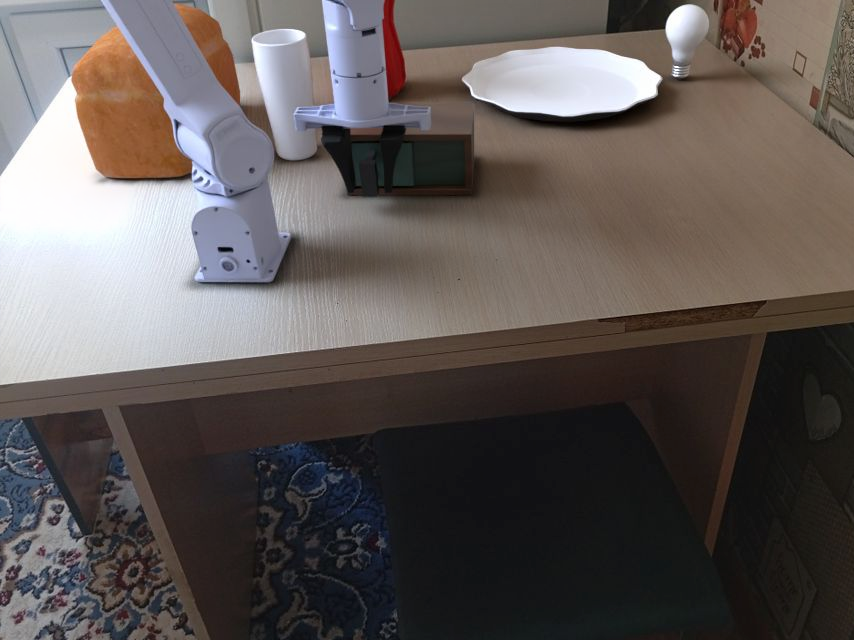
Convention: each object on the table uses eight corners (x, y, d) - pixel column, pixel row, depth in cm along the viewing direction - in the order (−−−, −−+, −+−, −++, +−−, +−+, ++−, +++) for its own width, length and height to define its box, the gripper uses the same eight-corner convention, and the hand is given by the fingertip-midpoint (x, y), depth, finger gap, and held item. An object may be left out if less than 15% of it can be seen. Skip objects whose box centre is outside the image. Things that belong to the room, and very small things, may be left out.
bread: (248, 103, 119) (227, -8, 109) (197, 180, 98) (165, 51, 88) (158, 104, 119) (129, -7, 110) (89, 181, 99) (45, 52, 89)
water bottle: (329, 103, 118) (304, -84, 103) (359, 79, 126) (341, -98, 111) (385, 109, 116) (369, -81, 100) (412, 84, 124) (401, -96, 109)
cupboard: (472, 195, 94) (471, 134, 89) (347, 195, 94) (339, 134, 90) (474, 159, 101) (473, 102, 97) (359, 160, 102) (353, 102, 97)
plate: (438, 119, 112) (438, 103, 111) (493, 55, 134) (493, 41, 133) (646, 140, 105) (648, 123, 104) (668, 69, 127) (670, 54, 126)
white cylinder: (312, 166, 101) (295, 46, 92) (263, 162, 102) (241, 44, 93) (330, 144, 106) (315, 29, 97) (283, 141, 107) (263, 27, 98)
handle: (410, 203, 90) (407, 159, 87) (350, 203, 90) (344, 159, 87) (414, 183, 94) (411, 140, 91) (356, 183, 94) (351, 141, 91)
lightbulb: (651, 74, 125) (660, 1, 119) (686, 70, 127) (698, -3, 120) (671, 88, 121) (682, 12, 114) (707, 82, 122) (720, 8, 115)
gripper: (430, 55, 84) (435, 173, 92) (296, 56, 85) (313, 173, 93) (425, 78, 79) (431, 201, 87) (282, 79, 79) (302, 201, 87)
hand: (370, 189), depth 90 cm, fingers open, 4 cm apart
